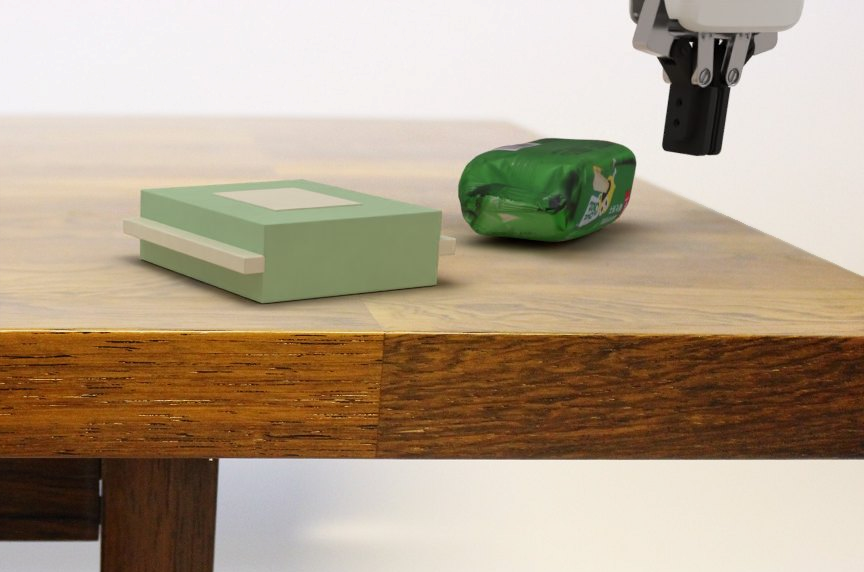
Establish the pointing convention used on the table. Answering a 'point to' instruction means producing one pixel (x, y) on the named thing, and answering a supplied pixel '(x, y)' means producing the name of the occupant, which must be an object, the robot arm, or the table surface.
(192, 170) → the table surface
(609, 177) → the snack package
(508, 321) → the table surface
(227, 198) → the green block with rails
